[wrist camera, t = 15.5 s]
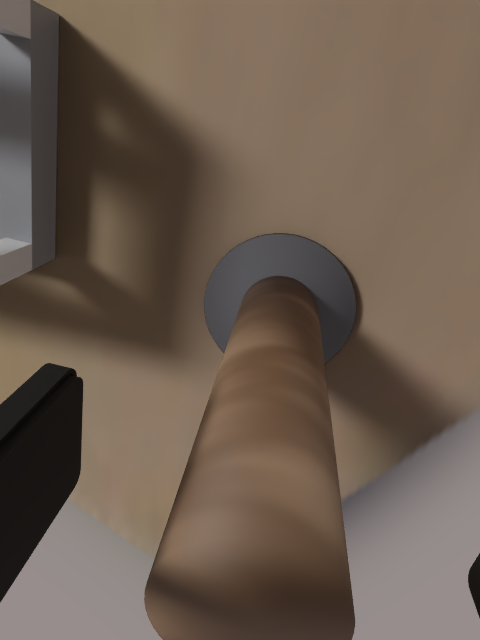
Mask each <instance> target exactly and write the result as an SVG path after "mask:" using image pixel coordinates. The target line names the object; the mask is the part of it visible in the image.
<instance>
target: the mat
mask: <svg viewBox="0 0 480 640" xmlns="http://www.w3.org/2000/svg"><path fill="white" fill-rule="evenodd" d="M271 276H286V277H290V278H293V279H296V280H298V281H300V282H301V283H303V284H304V285H305V286H306V287H307V288H308V289H309V290H310V291H311V292H312V294H313V295H314V297H315V299H316V302H317V306H318V313H319V322H320V330H321V338H322V347H323V355H324V364H325V363H327V362H328V361H329V360H330V359H332V358H333V357H334V356H335V355H336V354H337V353H338V352H339V351H340V350H341V348H342V347H343V346H344V344H345V343H346V341H347V339H348V338H349V336H350V333H351V331H352V328H353V325H354V321H355V315H356V298H355V293H354V288H353V286H352V283H351V280H350V277H349V275H348V273H347V271H346V270H345V268H344V267H343V265H342V264H341V262H340V261H339V260H338V259H337V258H336V257H335V256H334V255H333V254H332V253H331V252H330V251H329V250H327V249H326V248H325V247H323V246H322V245H320V244H318V243H317V242H315V241H312V240H310V239H308V238H305V237H302V236H298V235H293V234H286V233H274V234H266V235H262V236H258V237H254V238H252V239H249V240H247V241H245V242H243V243H241V244H239V245H238V246H236V247H235V248H234V249H232V250H231V251H230V252H229V253H228V254H227V255H226V256H225V257H224V258H222V260H221V261H220V262H219V264H218V265H217V266H216V268H215V270H214V271H213V273H212V275H211V277H210V279H209V282H208V285H207V288H206V292H205V300H204V311H205V318H206V322H207V325H208V329H209V331H210V333H211V335H212V337H213V339H214V341H215V342H216V344H217V345H218V347H219V348H220V349H221V350H222V351H223V353H225V350H226V347H227V344H228V341H229V338H230V335H231V332H232V329H233V326H234V323H235V320H236V317H237V314H238V311H239V308H240V305H241V302H242V299H243V297H244V295H245V293H246V292H247V291H248V289H249V288H250V287H251V286H252V285H253V284H255V283H256V282H258V281H260V280H262V279H264V278H267V277H271Z"/></svg>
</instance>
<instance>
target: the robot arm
mask: <svg viewBox="0 0 480 640" xmlns="http://www.w3.org/2000/svg"><path fill="white" fill-rule="evenodd" d="M82 406H83V380H82V378H80V377H77V374H76V371H75V370H74V369H72V368H68V367H64V366H59V365H55V364H51V363H47V364H45V365H44V366H42V367H41V368H40V369H39V370H38V371H37V372H36V373H35V374H34V375H33V376H31V377H30V378H29V379H28V380H27V381H26V382H25V383H24V384H23V385H22V386H20V387H19V388H18V389H17V390H16V391H15V392H14V393H13V394H12V395H10V396H9V397H8V398H7V399H6V400H5V401H4V402H3V403H2V404H1V405H0V602H1V601H2V599H3V597H4V596H5V594H6V593H7V591H8V589H9V588H10V587H11V585H12V584H13V582H14V580H15V579H16V577H17V576H18V574H19V573H20V571H21V570H22V568H23V567H24V565H25V563H26V562H27V560H28V559H29V557H30V556H31V554H32V553H33V551H34V549H35V548H36V546H37V545H38V543H39V542H40V540H41V539H42V537H43V536H44V534H45V533H46V531H47V529H48V528H49V526H50V525H51V523H52V522H53V520H54V519H55V517H56V515H57V514H58V512H59V511H60V509H61V508H62V506H63V505H64V503H65V502H66V500H67V498H68V497H69V495H70V494H71V492H72V491H73V489H74V488H75V486H76V484H77V481H78V479H79V475H80V470H81V439H82ZM468 583H469V588H470V591H471V594H472V597H473V600H474V603H475V606H476V609H477V612H478V615H479V617H480V554H479V555H478V557H477V558H476V560H475V562H474V563H473V565H472V567H471V568H470V571H469V575H468Z"/></svg>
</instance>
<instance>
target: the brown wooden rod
mask: <svg viewBox="0 0 480 640" xmlns="http://www.w3.org/2000/svg"><path fill="white" fill-rule="evenodd" d="M144 600H145V608H146V612H147V615H148V618H149V620H150V621H151V624H152V626H153V627H154V629H155V630H156V632H157V633H158V634H159V636H160V637H161V638H162V639H163V640H352V637H353V634H354V628H355V615H354V607H353V599H352V590H351V581H350V573H349V564H348V556H347V548H346V539H345V531H344V523H343V515H342V506H341V497H340V489H339V481H338V472H337V464H336V456H335V447H334V439H333V430H332V422H331V414H330V405H329V397H328V389H327V380H326V372H325V364H324V355H323V347H322V338H321V330H320V322H319V313H318V306H317V302H316V299H315V297H314V295H313V294H312V292H311V291H310V290H309V289H308V288H307V287H306V286H305V285H304V284H303V283H301V282H300V281H298V280H296V279H293V278H290V277H286V276H271V277H267V278H264V279H262V280H260V281H258V282H256V283H255V284H253V285H252V286H251V287H250V288H249V289H248V291H247V292H246V293H245V295H244V297H243V299H242V302H241V305H240V308H239V311H238V314H237V317H236V320H235V323H234V326H233V329H232V332H231V335H230V338H229V341H228V344H227V347H226V350H225V353H224V356H223V359H222V361H221V364H220V367H219V370H218V373H217V376H216V379H215V382H214V385H213V388H212V391H211V394H210V397H209V400H208V403H207V406H206V409H205V412H204V415H203V418H202V421H201V424H200V427H199V430H198V433H197V436H196V439H195V441H194V444H193V447H192V450H191V453H190V456H189V459H188V462H187V465H186V468H185V471H184V474H183V477H182V480H181V483H180V486H179V489H178V492H177V495H176V498H175V501H174V504H173V507H172V510H171V513H170V516H169V519H168V521H167V524H166V527H165V530H164V533H163V536H162V539H161V542H160V545H159V548H158V551H157V554H156V557H155V560H154V563H153V566H152V569H151V572H150V575H149V578H148V581H147V584H146V588H145V598H144Z"/></svg>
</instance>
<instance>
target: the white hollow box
mask: <svg viewBox="0 0 480 640" xmlns="http://www.w3.org/2000/svg"><path fill="white" fill-rule="evenodd" d="M58 51H59V14H57V13H56V12H54V11H52V10H50V9H48V8H46V7H44V6H42V5H40V4H39V3H37V2H35V1H33V0H0V285H2V284H4V283H6V282H8V281H11V280H13V279H15V278H17V277H19V276H21V275H23V274H25V273H27V272H29V271H31V270H33V269H35V268H37V267H39V266H41V265H43V264H45V263H47V262H49V261H51V260H53V259H55V236H56V174H57V113H58Z"/></svg>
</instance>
